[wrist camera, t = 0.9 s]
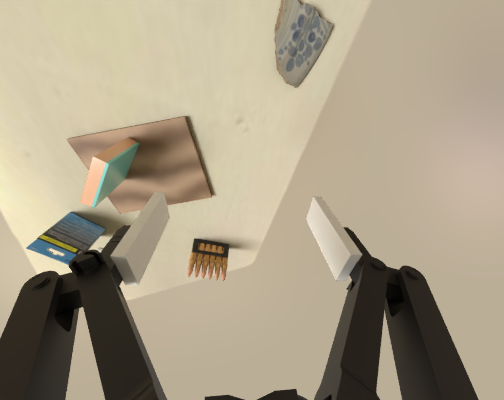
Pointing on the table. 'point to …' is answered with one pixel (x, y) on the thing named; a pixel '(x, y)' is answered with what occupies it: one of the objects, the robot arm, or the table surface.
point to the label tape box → (67, 238)
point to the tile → (108, 171)
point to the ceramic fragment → (298, 39)
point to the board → (151, 163)
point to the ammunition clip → (208, 258)
